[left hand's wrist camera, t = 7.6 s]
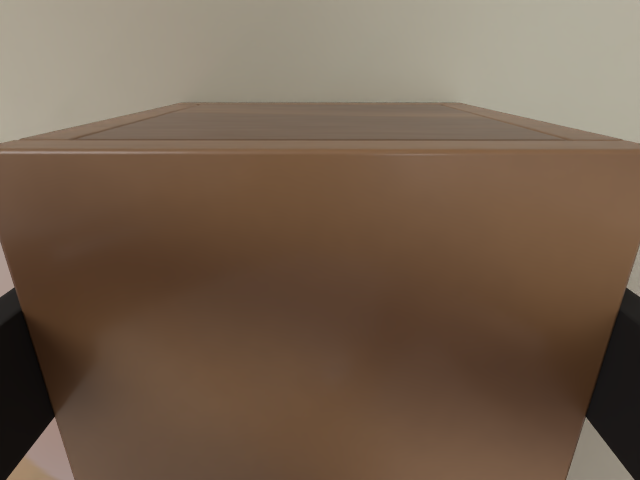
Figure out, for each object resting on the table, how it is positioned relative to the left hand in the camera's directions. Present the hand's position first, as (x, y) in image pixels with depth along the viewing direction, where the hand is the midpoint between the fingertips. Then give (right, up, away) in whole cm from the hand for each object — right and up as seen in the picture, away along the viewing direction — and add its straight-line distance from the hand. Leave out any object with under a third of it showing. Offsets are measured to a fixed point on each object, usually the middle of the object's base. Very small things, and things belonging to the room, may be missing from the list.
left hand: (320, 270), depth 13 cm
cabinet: (0, -4, +9) cm, 9 cm away
